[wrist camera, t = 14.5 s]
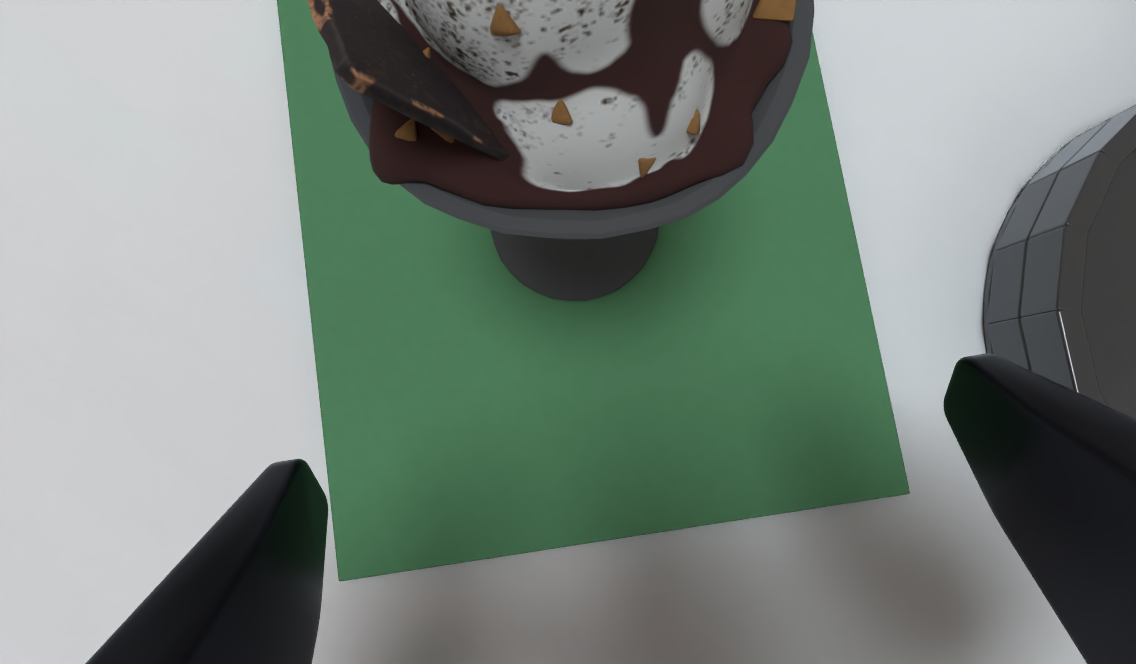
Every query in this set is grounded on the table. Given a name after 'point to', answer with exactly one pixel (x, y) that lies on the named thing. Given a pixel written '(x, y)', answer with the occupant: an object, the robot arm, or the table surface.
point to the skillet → (1072, 269)
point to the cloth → (581, 357)
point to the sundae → (567, 115)
